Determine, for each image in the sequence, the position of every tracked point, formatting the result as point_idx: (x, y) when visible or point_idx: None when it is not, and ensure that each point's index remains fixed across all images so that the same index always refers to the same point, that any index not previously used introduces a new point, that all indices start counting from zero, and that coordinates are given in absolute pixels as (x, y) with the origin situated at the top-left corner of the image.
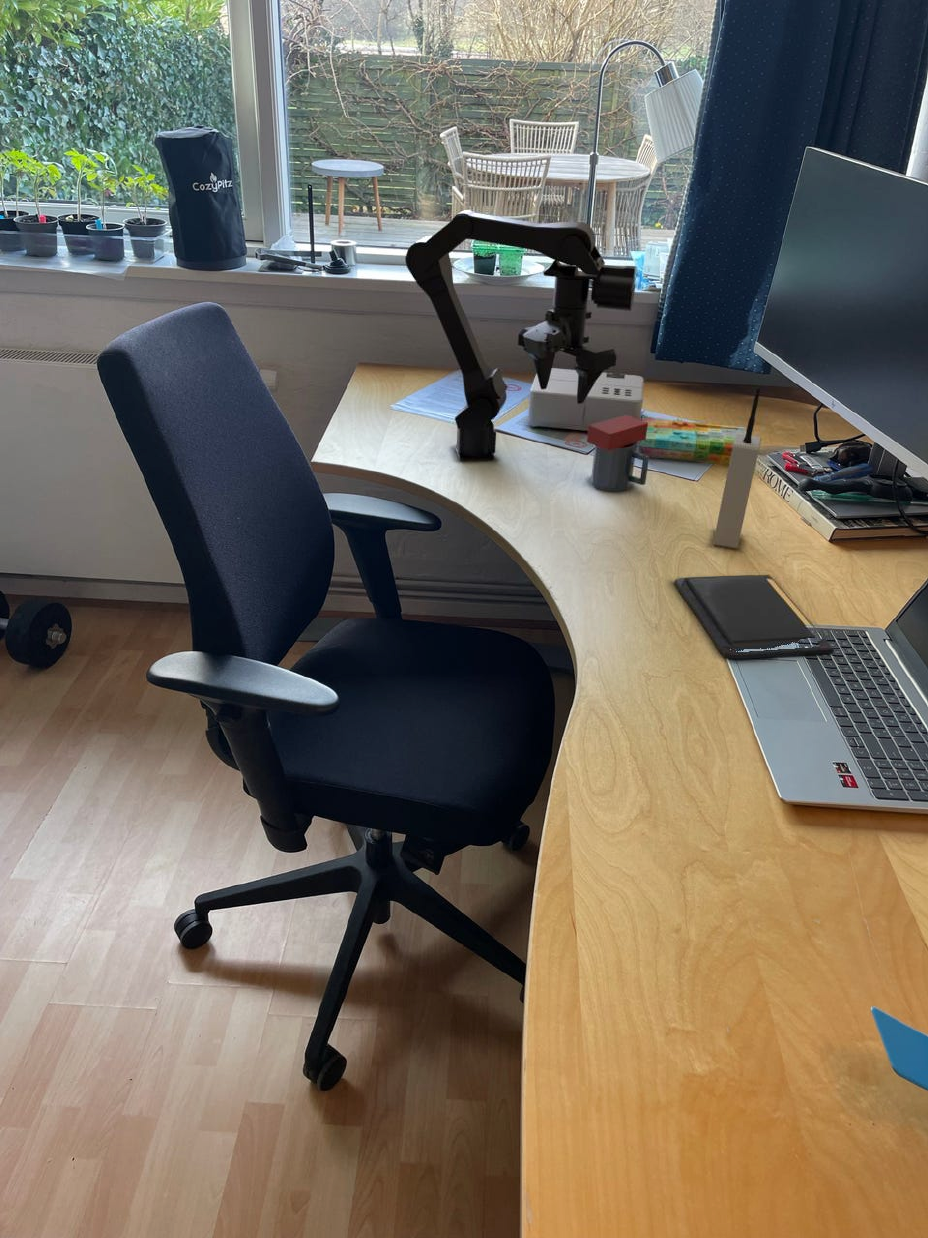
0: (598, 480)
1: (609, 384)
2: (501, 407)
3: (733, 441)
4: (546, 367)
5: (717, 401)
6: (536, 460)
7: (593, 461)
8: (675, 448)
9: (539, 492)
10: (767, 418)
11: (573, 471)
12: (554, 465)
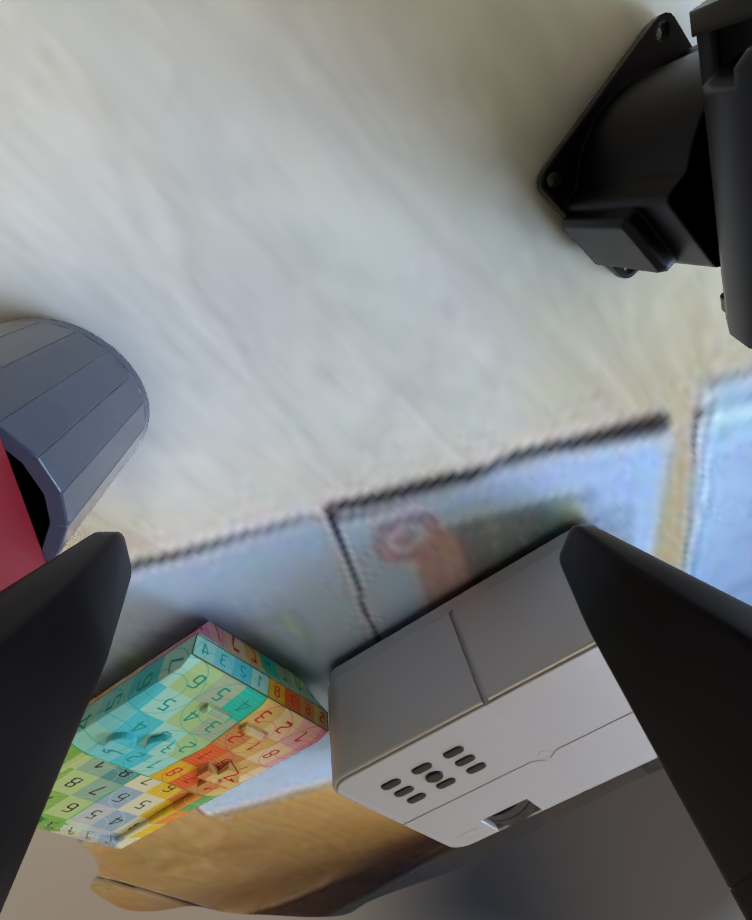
0: (17, 325)
1: (487, 784)
2: (728, 230)
3: None
4: (708, 726)
5: (354, 845)
6: (407, 338)
7: (62, 371)
8: (117, 689)
9: (120, 19)
10: (235, 864)
11: (242, 372)
12: (329, 357)
